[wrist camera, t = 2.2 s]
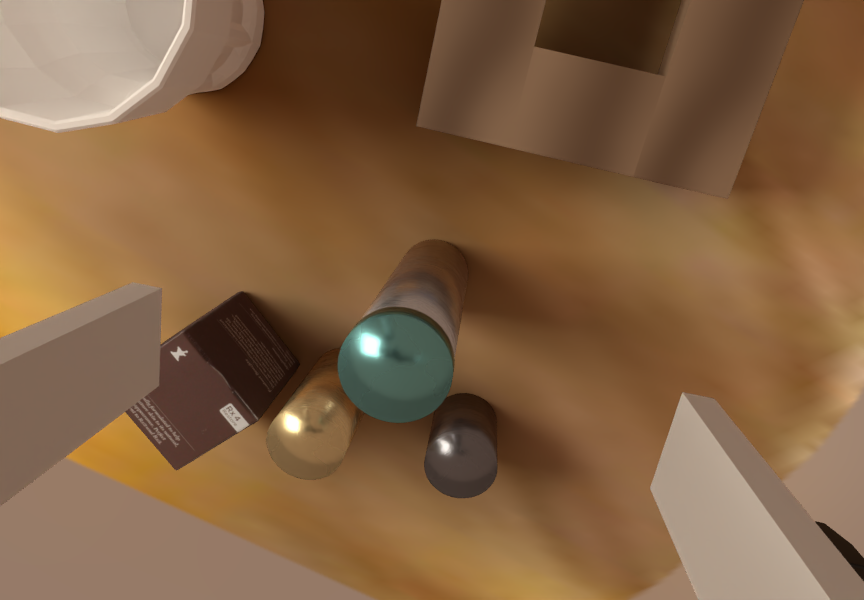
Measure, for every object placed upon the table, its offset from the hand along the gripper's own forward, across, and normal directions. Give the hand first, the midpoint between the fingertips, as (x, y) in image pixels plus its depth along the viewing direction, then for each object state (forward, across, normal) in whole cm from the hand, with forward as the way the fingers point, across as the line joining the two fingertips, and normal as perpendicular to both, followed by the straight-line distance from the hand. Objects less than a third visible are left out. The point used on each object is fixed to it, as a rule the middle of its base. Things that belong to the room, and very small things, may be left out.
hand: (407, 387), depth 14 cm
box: (+20, -12, -10) cm, 25 cm away
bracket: (+19, +5, +13) cm, 24 cm away
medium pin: (+20, -5, -10) cm, 22 cm away
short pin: (+20, +3, -11) cm, 23 cm away
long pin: (+19, -1, -2) cm, 20 cm away
